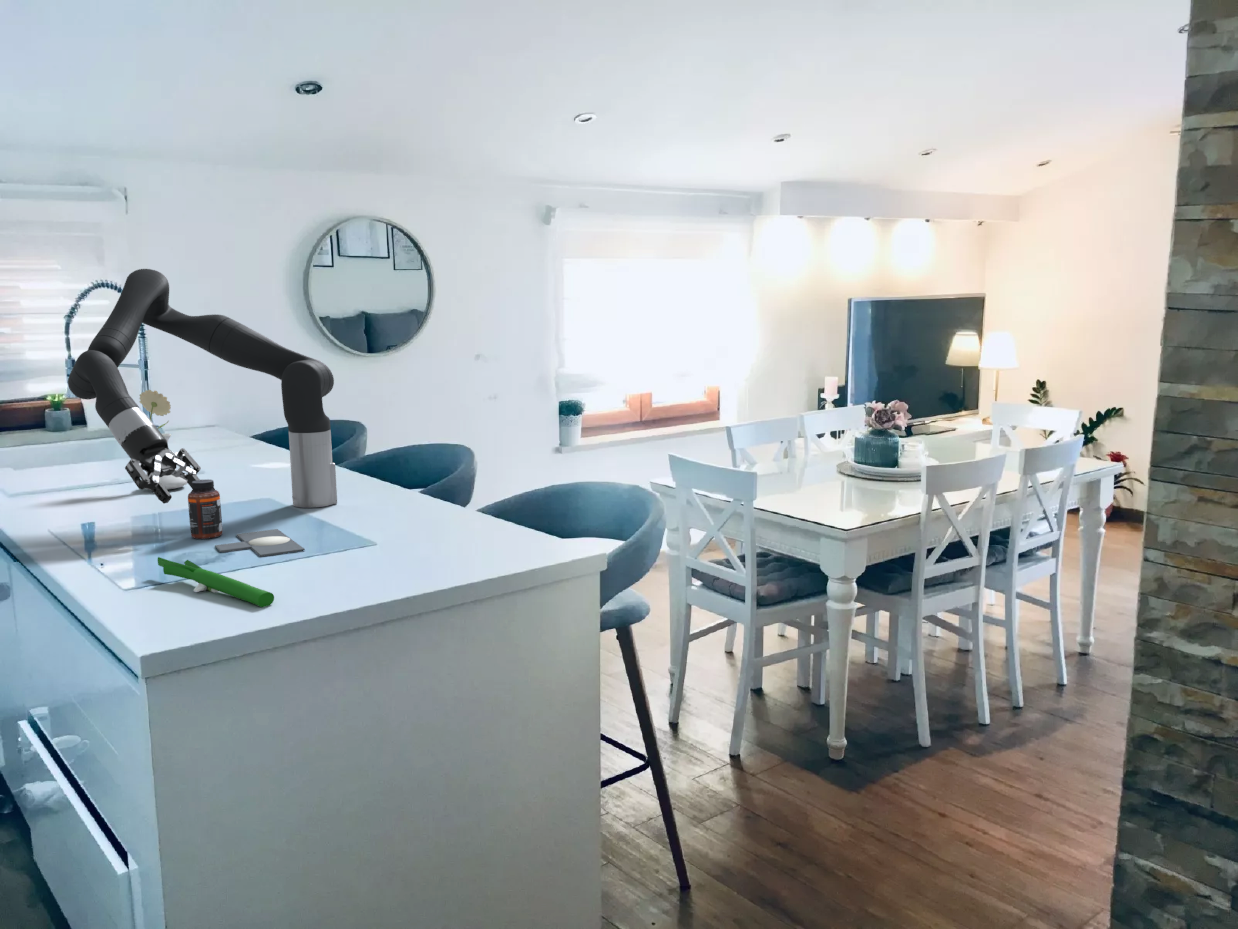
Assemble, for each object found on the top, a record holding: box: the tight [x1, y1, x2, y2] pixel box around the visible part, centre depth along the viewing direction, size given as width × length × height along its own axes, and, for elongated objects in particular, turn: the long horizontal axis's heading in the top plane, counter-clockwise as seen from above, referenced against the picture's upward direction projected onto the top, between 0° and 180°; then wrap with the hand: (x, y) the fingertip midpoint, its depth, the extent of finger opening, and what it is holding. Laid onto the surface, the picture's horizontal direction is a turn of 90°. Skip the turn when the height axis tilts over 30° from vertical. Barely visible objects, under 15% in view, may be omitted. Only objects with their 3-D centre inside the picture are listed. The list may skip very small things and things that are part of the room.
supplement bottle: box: [187, 478, 224, 540], centre depth 197 cm, size 6×6×11 cm
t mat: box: [214, 528, 306, 558], centre depth 190 cm, size 14×20×1 cm
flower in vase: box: [138, 389, 188, 491], centre depth 247 cm, size 13×11×25 cm
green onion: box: [157, 556, 275, 608], centre depth 160 cm, size 5×3×30 cm
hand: (185, 496), depth 198 cm, fingers open, 8 cm apart
